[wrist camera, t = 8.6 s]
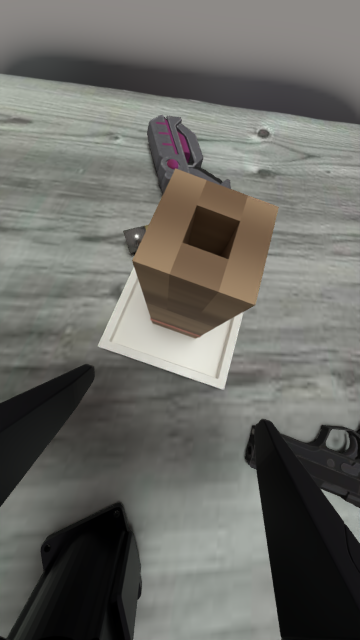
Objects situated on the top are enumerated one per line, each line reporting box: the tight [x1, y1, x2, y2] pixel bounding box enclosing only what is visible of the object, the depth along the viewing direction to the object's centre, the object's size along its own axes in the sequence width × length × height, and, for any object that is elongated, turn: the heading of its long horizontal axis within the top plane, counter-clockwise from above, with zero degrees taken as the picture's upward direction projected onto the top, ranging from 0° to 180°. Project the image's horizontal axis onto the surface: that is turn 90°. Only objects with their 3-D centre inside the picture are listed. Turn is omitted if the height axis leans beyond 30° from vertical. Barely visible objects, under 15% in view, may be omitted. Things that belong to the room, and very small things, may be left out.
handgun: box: [245, 424, 360, 508], centre depth 17 cm, size 3×17×12 cm
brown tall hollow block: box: [132, 168, 279, 339], centre depth 13 cm, size 5×5×12 cm
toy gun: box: [147, 115, 231, 194], centre depth 23 cm, size 14×3×10 cm
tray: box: [98, 268, 243, 390], centre depth 18 cm, size 13×13×2 cm
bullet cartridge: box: [123, 225, 149, 253], centre depth 20 cm, size 10×2×2 cm, turn 111°
